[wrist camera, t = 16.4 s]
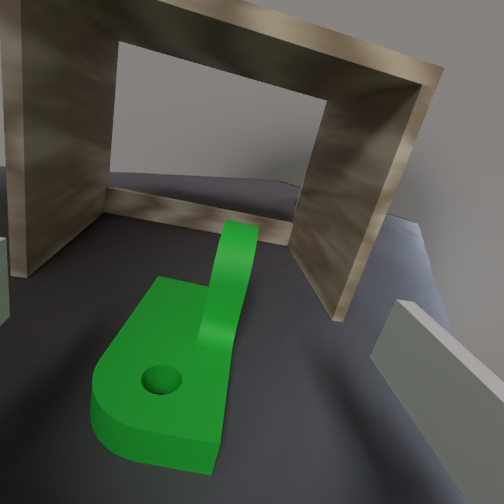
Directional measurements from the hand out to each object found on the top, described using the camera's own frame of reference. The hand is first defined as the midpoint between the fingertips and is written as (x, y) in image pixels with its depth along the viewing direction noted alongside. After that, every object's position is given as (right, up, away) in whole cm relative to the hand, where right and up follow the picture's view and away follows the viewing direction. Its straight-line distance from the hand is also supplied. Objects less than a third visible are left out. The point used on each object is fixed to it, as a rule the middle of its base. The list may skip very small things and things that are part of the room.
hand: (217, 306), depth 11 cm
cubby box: (-4, +1, +21) cm, 21 cm away
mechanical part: (-3, -5, +7) cm, 9 cm away
